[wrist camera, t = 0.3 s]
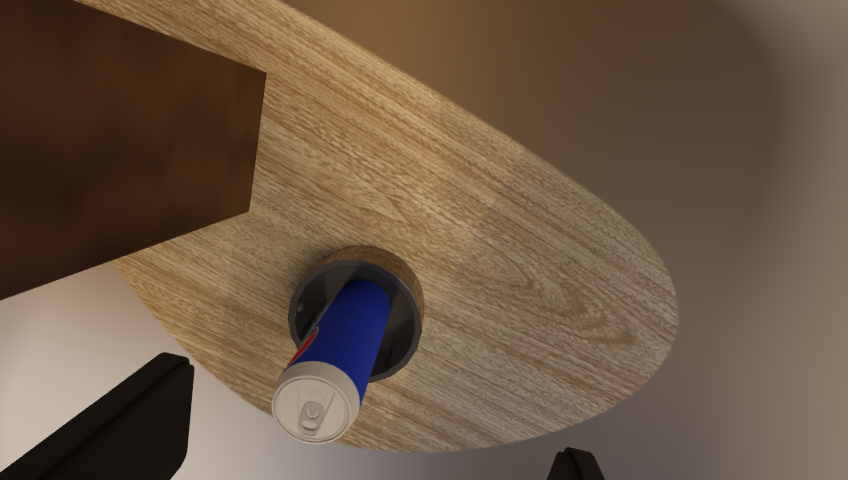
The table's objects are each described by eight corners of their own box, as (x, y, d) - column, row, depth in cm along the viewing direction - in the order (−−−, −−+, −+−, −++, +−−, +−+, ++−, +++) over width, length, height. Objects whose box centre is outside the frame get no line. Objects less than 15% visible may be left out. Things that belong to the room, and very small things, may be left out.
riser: (125, 37, 32) (-823, -267, 8) (266, 72, 32) (-259, -126, 8) (120, 179, 35) (-585, 264, 11) (249, 211, 35) (-174, 364, 11)
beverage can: (343, 271, 36) (274, 360, 22) (397, 286, 36) (365, 385, 22) (332, 320, 37) (259, 435, 23) (384, 335, 37) (345, 458, 23)
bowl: (317, 232, 36) (299, 245, 31) (436, 262, 36) (435, 279, 31) (298, 340, 38) (279, 365, 34) (409, 367, 38) (404, 396, 34)
